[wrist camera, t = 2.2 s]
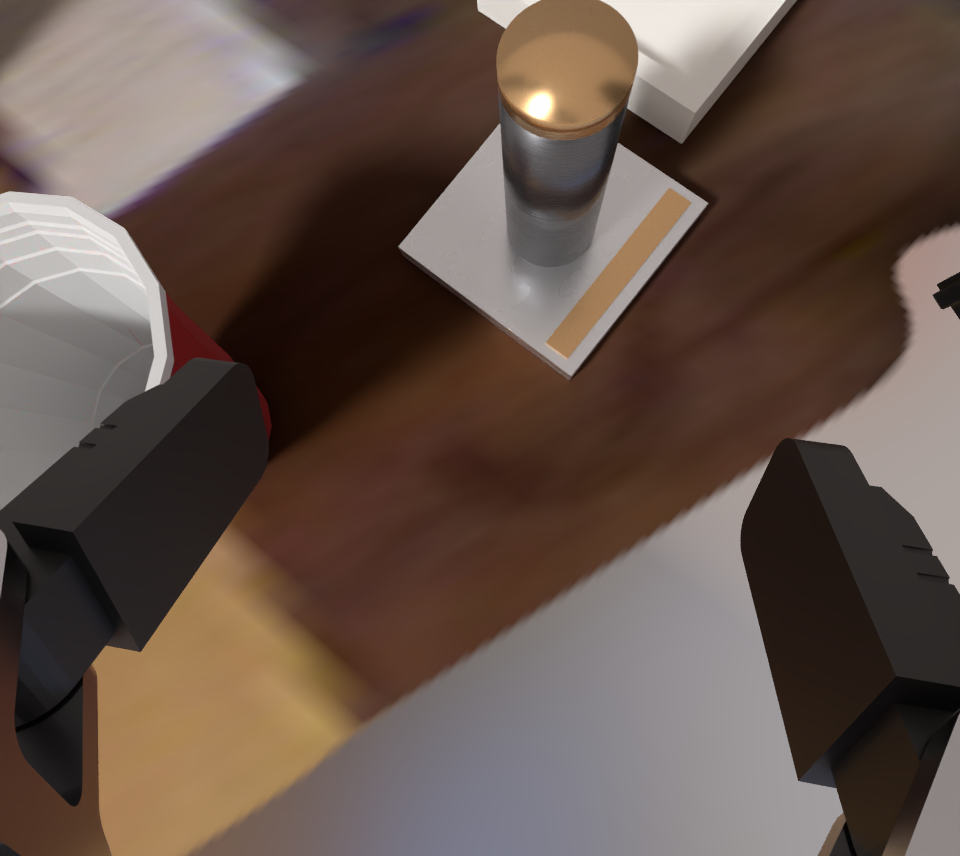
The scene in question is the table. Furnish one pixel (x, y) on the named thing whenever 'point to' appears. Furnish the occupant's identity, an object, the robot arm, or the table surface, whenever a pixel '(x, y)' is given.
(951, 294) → the black carrying case
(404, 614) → the table surface
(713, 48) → the white square tray
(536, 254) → the battery cell
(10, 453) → the plastic cup
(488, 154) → the plate
